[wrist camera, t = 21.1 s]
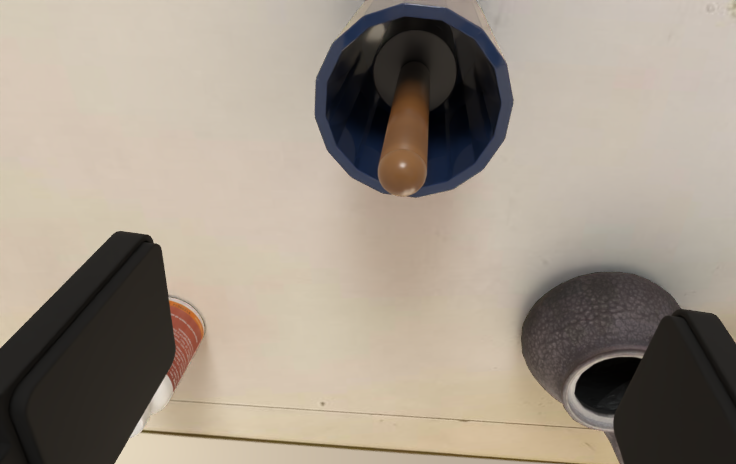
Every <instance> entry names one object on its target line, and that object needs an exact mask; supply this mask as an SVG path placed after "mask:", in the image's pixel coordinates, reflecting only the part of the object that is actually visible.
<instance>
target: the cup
mask: <svg viewBox="0 0 736 464" xmlns="http://www.w3.org/2000/svg"><path fill="white" fill-rule="evenodd" d="M402 17H413V18H422V19H431V20H440V21H443V22H445V23H447V24H448V25H449V26H450V28H451V30H452V33H453V38H454V45H455V52H456V60H457V67H458V74H457V81H456V85H455V87H454V90H453V91H452V93H451V95H450V96H449V98H448V99H447V100H446V101H445V102H444V103H443V104H442V105H441V106H439V107H438V108H436V109H435V110H432V111H430V112H429V127H428V156H427V176H426V179H425V182H424V184H423V186H422V187H421V188H420V189H419V190H418V191H417V192H416V193H414V194H412V195H409V196H407V197H415V198H417V197H418V198H419V197H423V196H428V195H432V194H436V193H441V192H445V191H450V190H452V189H455V188H456V187H458V186H459V185H461V184H462V183H464V182H465V181H467V180H468V179H470V178H471V177H473V176H474V175H476V174H478V173H479V172H481V171H482V170H483V169H484V168H485V166H486V165H487V164H488V162H489V161H490V159H491V158H492V157H493V155H494V154H495V152H496V151H497V150H498V148H499V147H500V145H501V144H502V143H503V141H504V139H505V137H506V133H507V128H508V124H509V120H510V115H511V111H512V107H513V95H512V90H511V84H510V79H509V73H508V68H507V63H506V61H505V59H504V57H503V55H502V52H501V50H500V48H499V46H498V44H497V41H496V39H495V37H494V35H493V33H492V31H491V28H490V26H489V24H488V22H487V20H486V17H485V15H484V13H483V11H482V9H481V7H480V6H479V4H478V3H477V1H476V0H365V2H364V3H363V4H362V6H361V7H360V8H359V10H358V11H357V12H356V13H355V15H354V16H353V17H352V19H351V20H350V21H349V22H348V24H347V25H346V26H345V28H344V29H343V30H342V32H341V33H340V34H339V35H338V37H337V38H336V39H335V41H334V42H333V43H332V45H331V47H330V49H329V51H328V53H327V56H326V58H325V60H324V62H323V64H322V66H321V68H320V71H319V73H318V75H317V77H316V88H315V119H316V122H317V124H318V127H319V130H320V133H321V135H322V138H323V141H324V143H325V146H326V149H327V150H328V152H329V153H330V154H331V155H332V156H333V158H334V159H335V160H336V161H337V162H338V163H339V164H340V165H341V167H342V168H343V169H344V170H345V171H346V172H347V173H348V174H349V175H350V176H351V177H352V178H354V179H356V180H358V181H359V182H361V183H363V184H365V185H367V186H369V187H371V188H373V189H375V190H377V191H379V192H381V193H383V194H390V193H389V192H387V191H386V190H385V189H384V188H383V187H382V185H381V183H380V181H379V178H378V165H379V161H380V156H381V152H382V147H383V143H384V139H385V134H386V130H387V125H388V121H389V116H390V112H391V107H390V106H389V105H387V104H386V103H385V102H384V101H383V100H382V98H381V97H380V96H379V94H378V92H377V90H376V87H375V85H374V81H373V65H374V61H375V57H376V55H377V52H378V50H379V47H380V45H381V43H382V40H383V38H384V35H385V33H386V30H387V28H388V26H389V25H390V23H391V22H392V21H393V20H396V19H399V18H402ZM391 195H393V194H391Z"/></svg>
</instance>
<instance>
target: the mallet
mask: <svg viewBox="0 0 736 464" xmlns="http://www.w3.org/2000/svg"><path fill="white" fill-rule="evenodd" d="M457 74H458V67H457V60H456V52H455V45H454V38H453V33H452V30H451V28H450V26H449V25H448V24H447V23H445V22H443V21H440V20H431V19H422V18H413V17H402V18H399V19H396V20H393V21H392V22H391V23H390V25H389V26H388V28H387V30H386V33H385V35H384V38H383V40H382V43H381V45H380V47H379V50H378V52H377V55H376V57H375V61H374V65H373V81H374V85H375V87H376V90H377V92H378V94H379V96H380V97H381V98H382V100H383V101H384V102H385V103H386V104H387V105H389V106H390V107H391V112H390V116H389V121H388V125H387V130H386V134H385V139H384V143H383V147H382V152H381V156H380V161H379V165H378V178H379V181H380V183H381V185H382V187H383V188H384V189H385V190H386V191H387V192H389V193H390V194H393V195H395V196H409V195H412V194H414V193H416V192H417V191H418V190H419V189H420V188H421V187H422V186H423V184H424V182H425V179H426V176H427V156H428V127H429V112H430V111H432V110H435V109H436V108H438V107H439V106H441V105H442V104H443V103H444V102H445V101H446V100H447V99H448V98H449V96H450V95H451V93H452V91H453V90H454V87H455V85H456V81H457Z"/></svg>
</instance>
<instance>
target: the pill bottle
mask: <svg viewBox="0 0 736 464" xmlns="http://www.w3.org/2000/svg"><path fill="white" fill-rule="evenodd" d="M169 304H170V311H171V318H172V325H173V332H174V338H175V345H176V352H175V357H174V361H173V363H172V365H171V367H170V369H169V371H168V373H167V374H166V376H165V378H164V379H163V381H162V383H161V385H160V386H159V388H158V390H157V391H156V393H155V395H154V397H153V398H152V400H151V402H150V403H149V405H148V407H147V409H146V410H145V412H144V414H143V415H142V417H141V419H140V421H139V422H138V424H137V426H136V427H135V429H134V431H133V433H132V434H131V436H130V438H131V437H134V436H137V435H138V434H139V433H140V432H141V431H142V430H143V428H144V427H145V425H146V423H147V422H148V420H149V418H150V415H153V414H156V413H158V412H159V411H161V410H162V409H163V408H165V406H166V405H167V404H168V402H169V401H170V399H171V397H172V396H173V394H174V392H175V390H176V388H177V386H178V384H179V383H180V381H181V379H182V377H183V375H184V373H185V371H186V369H187V368H188V366H189V364H190V362H191V360H192V358H193V357H194V355H195V353H196V351H197V349H198V347H199V345H200V343H201V341H202V339H203V337H204V333H205V328H204V323H203V320H202V318H201V317H200V315H199V314H198V312H197V311H196V310H195V309H194V308H193V307H192V306H190V305H189V304H187V303H186V302H183V301H181V300H179V299H175V298H170V297H169Z"/></svg>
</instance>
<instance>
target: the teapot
mask: <svg viewBox="0 0 736 464" xmlns="http://www.w3.org/2000/svg"><path fill="white" fill-rule="evenodd" d="M679 309H681V308H680V306H679V305H678V303H677V302H676V301H675V299H674V298H673V297H672V296H671V295H670V294H669V293H668V292H666V291H665V290H664V289H662V288H661V287H660V286H658V285H657V284H655V283H653V282H651V281H650V280H648V279H645V278H643V277H640V276H637V275H635V274H629V273H622V272H596V273H592V274H587V275H583V276H578V277H575V278H573V279H571V280H568V281H566V282H564V283H561V284H560V285H558V286H556V287H555V288H553V289H552V290H550V291H549V292H547V293H546V294H545V295H544V296H543V297H541V298H540V299H539V300H538V301H537V302H536V303H535V305H534V306H533V307H532V309H531V310H530V312H529V313H528V315H527V317H526V319H525V321H524V324H523V327H522V336H521V342H522V353H523V356H524V358H525V361H526V364H527V366H528V368H529V370H530V372H531V373H532V375H533V376H534V378H535V379H536V380H537V381H538V383H539V384H540V385H541V386H542V387H543V388H544V389H545V390H546V391H547V392H548V393H549V394H550V395H551V396H552V397H554V398H555V399H556V400H558V401H559V402H560V403H562V404H563V406H564V408H565V410H566V411H567V412H568V414H569V415H570V416H571V417H572V419H573V420H575V421H576V422H578V423H580V424H581V425H584V426H586V427H588V428H590V429H595V430H599V431H604V433H605V435H606V436H607V438H608V439H609V441H610V443H611V445H612V447H613V450H614V452H615V454H616V456H617V459H618V461H619V463H620V464H624V462H623V459H622V456H621V453H620V450H619V447H618V443H617V440H616V437H615V434H614V429H613V419H614V415H615V412H616V410H617V408H618V406H619V404H620V402H621V400H622V398H623V396H624V394H625V392H626V390H627V388H628V386H629V384H630V382H631V380H632V378H633V376H634V374H635V372H636V370H637V368H638V366H639V364H640V362H641V360H642V358H643V355H644V353H645V351H646V349H647V347H648V345H649V343H650V341H651V339H652V337H653V335H654V333H655V331H656V329H657V327H658V325H659V323H660V321H661V320H662V318H663V317H665V316H668V315H669V316H671V315H672V314H673V312H675V311H676V310H679Z"/></svg>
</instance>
